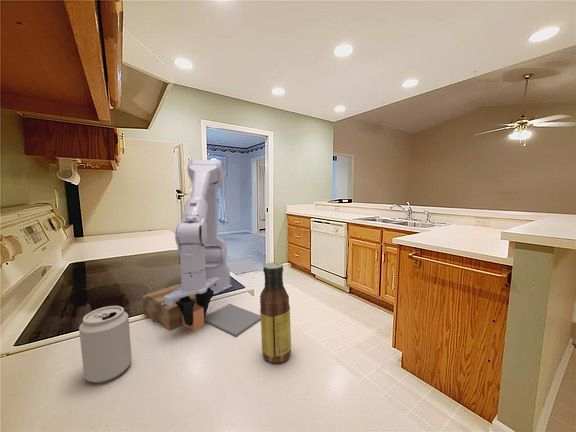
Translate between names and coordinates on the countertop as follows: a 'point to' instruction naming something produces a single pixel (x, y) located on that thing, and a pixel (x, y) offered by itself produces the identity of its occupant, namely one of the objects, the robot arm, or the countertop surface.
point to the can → (105, 343)
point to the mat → (232, 319)
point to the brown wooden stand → (163, 308)
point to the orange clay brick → (195, 317)
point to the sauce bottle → (275, 315)
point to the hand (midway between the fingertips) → (195, 320)
